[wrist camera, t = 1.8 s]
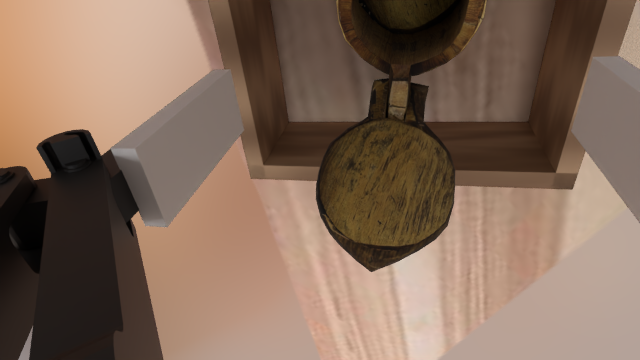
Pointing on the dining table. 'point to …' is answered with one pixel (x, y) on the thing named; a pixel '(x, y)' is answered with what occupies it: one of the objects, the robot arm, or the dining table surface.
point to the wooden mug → (394, 131)
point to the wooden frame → (458, 137)
